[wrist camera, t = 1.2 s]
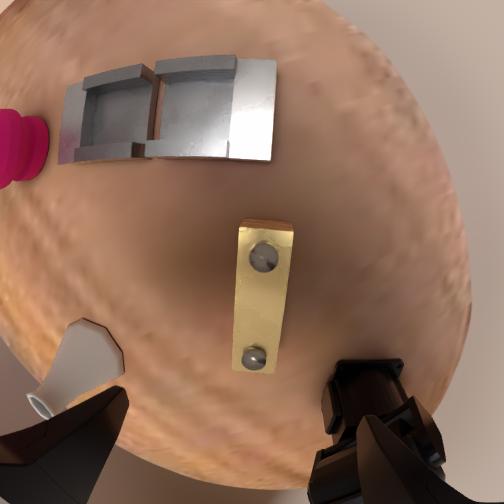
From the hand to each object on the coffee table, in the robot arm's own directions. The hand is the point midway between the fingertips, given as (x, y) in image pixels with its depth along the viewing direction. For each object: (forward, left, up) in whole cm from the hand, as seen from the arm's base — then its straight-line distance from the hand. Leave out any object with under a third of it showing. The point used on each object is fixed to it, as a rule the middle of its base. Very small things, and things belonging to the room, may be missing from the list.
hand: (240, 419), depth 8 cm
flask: (+16, +9, -12) cm, 22 cm away
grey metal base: (+8, -12, -12) cm, 19 cm away
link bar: (0, 0, -12) cm, 12 cm away
